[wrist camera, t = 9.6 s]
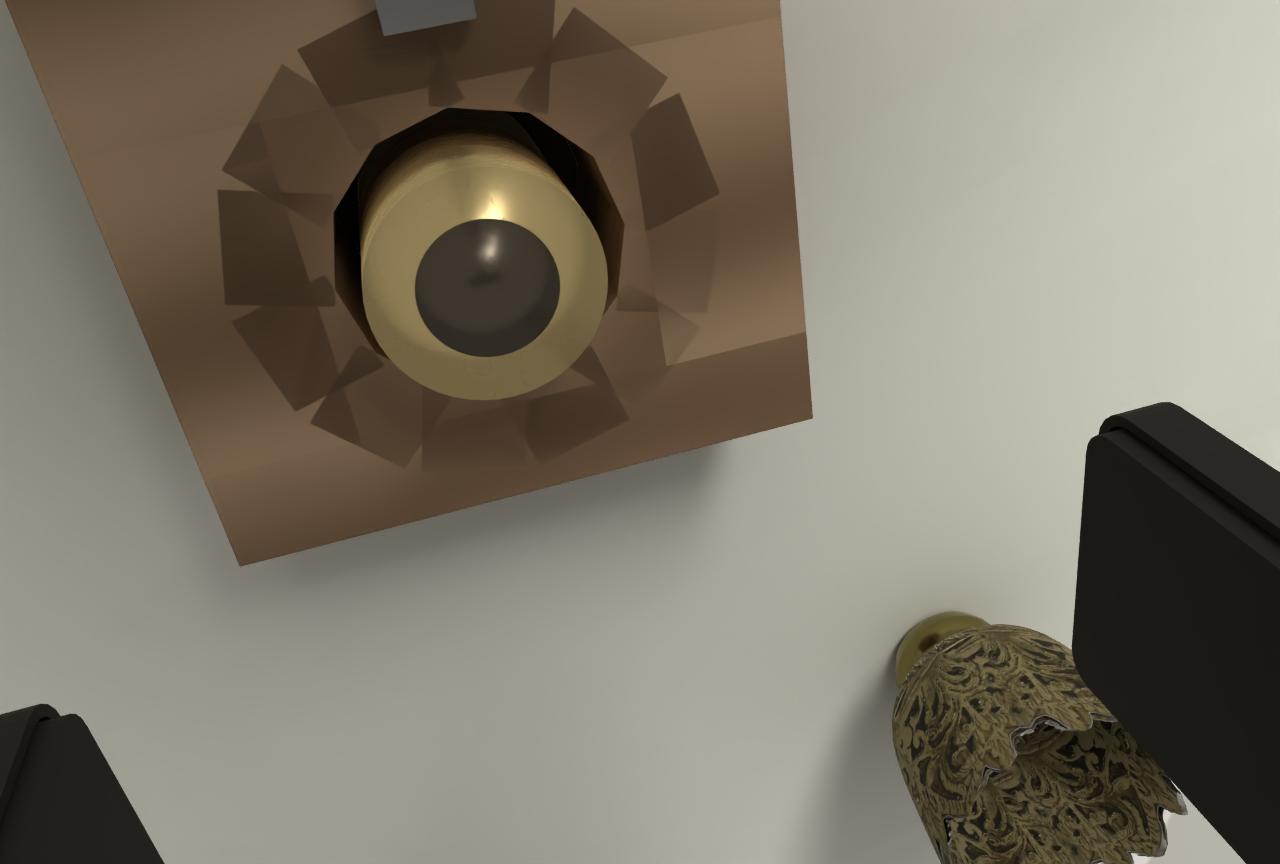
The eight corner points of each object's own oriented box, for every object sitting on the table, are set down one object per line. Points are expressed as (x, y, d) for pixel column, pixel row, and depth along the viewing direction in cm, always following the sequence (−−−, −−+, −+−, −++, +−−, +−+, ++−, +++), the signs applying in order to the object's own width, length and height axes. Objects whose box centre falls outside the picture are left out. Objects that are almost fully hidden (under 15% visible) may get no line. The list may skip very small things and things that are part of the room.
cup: (869, 765, 38) (986, 963, 31) (803, 625, 34) (919, 815, 27) (1056, 667, 38) (1214, 843, 31) (1010, 516, 34) (1178, 679, 27)
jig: (-87, -440, 18) (-246, -554, 13) (645, -532, 20) (745, -663, 15) (256, 455, 27) (236, 588, 22) (742, 336, 29) (826, 434, 24)
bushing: (334, 116, 24) (330, 198, 18) (525, 76, 25) (586, 142, 19) (386, 297, 26) (398, 425, 20) (561, 257, 27) (625, 370, 21)
